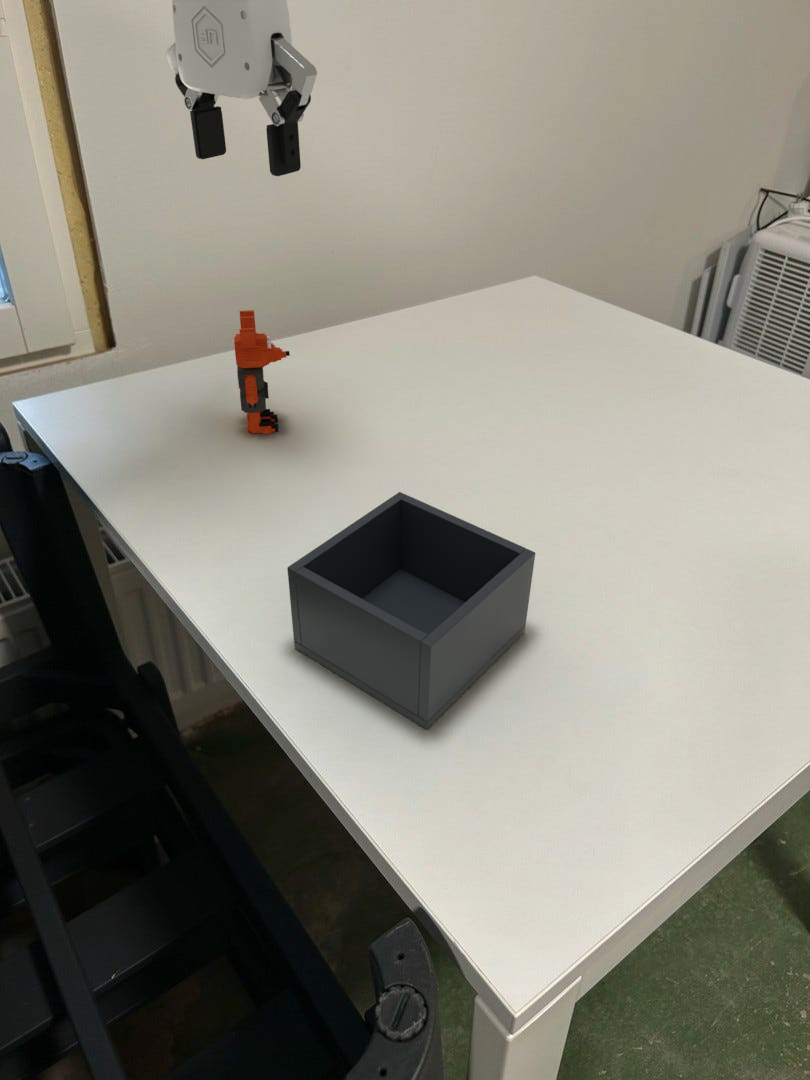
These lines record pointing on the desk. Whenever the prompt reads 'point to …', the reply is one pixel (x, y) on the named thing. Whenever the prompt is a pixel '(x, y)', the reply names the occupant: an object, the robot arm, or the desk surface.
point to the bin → (410, 604)
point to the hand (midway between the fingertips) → (247, 164)
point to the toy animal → (255, 373)
